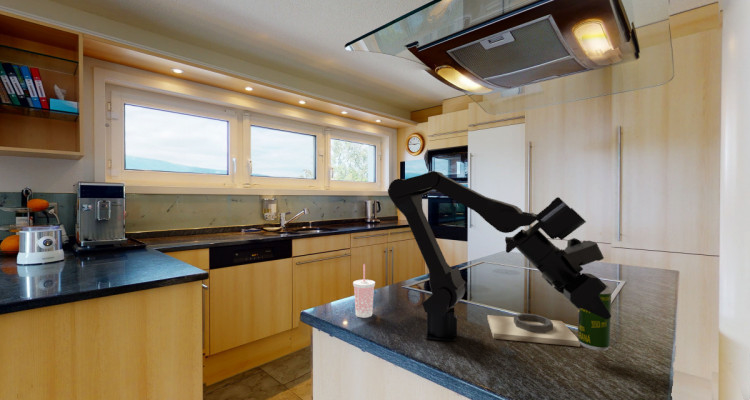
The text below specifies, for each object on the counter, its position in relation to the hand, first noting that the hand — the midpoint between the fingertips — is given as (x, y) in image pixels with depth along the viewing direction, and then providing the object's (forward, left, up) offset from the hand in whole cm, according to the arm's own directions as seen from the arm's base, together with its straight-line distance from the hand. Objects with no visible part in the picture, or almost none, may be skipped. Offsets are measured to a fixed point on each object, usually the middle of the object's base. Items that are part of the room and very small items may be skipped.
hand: (602, 312), depth 64 cm
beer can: (-1, 0, -7) cm, 7 cm away
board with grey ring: (-10, +13, -10) cm, 19 cm away
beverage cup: (-52, +15, -10) cm, 55 cm away
